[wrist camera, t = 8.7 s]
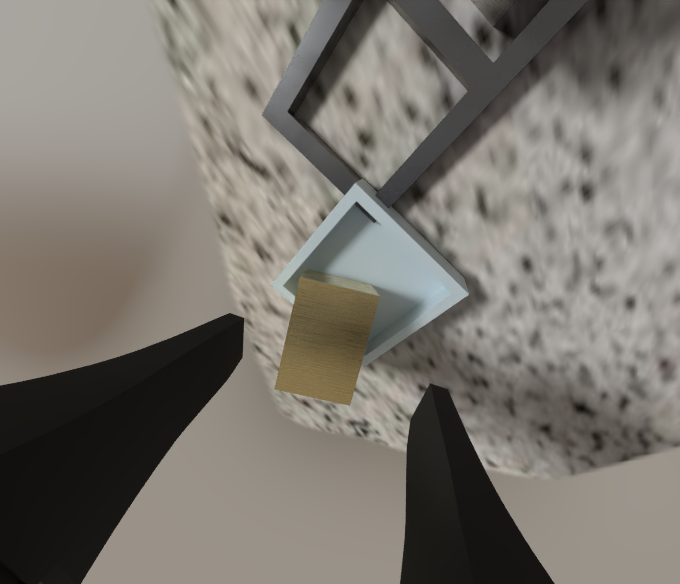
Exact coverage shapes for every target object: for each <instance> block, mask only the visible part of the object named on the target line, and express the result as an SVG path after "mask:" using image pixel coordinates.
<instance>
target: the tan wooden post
mask: <svg viewBox="0 0 680 584" xmlns="http://www.w3.org/2000/svg"><path fill="white" fill-rule="evenodd" d="M379 298H380V295H379V294H378V293H377V292H376V291H375V289H374V288H373V287H372V286H371V285H370V284H368V283H364V282H360V281H356V280H351V279H347V278H343V277H339V276H335V275H331V274H327V273H323V272H319V271H315V270H311V269H307V270H306V271H305V272H304V273H303V274H302V275H301V276H300V278H299V283H298V287H297V291H296V296H295V300H294V305H293V309H292V314H291V318H290V323H289V327H288V332H287V336H286V340H285V345H284V349H283V354H282V358H281V363H280V367H279V372H278V376H277V381H276V385H275V389H276V390H280V391H285V392H290V393H294V394H299V395H303V396H308V397H313V398H317V399H322V400H326V401H331V402H336V403H340V404H345V405H349V406H350V403H351V399H352V396H353V392H354V389H355V385H356V381H357V378H358V374H359V371H360V367H361V363H362V360H363V356H364V353H365V349H366V345H367V342H368V338H369V335H370V331H371V327H372V324H373V320H374V316H375V313H376V309H377V306H378V302H379Z"/></svg>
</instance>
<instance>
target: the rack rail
mask: <svg viewBox="0 0 680 584" xmlns="http://www.w3.org/2000/svg"><path fill="white" fill-rule="evenodd" d="M362 1H363V0H323V2H322V4H321V6H320V7H319V9H318V11H317V13H316V15H315V17H314V19H313V21H312V22H311V24H310V26H309V28H308V30H307V32H306V34H305V35H304V37H303V39H302V41H301V43H300V45H299V47H298V49H297V50H296V52H295V54H294V56H293V58H292V60H291V62H290V63H289V65H288V67H287V69H286V71H285V73H284V75H283V77H282V78H281V80H280V82H279V84H278V86H277V88H276V90H275V92H274V93H273V95H272V97H271V99H270V101H269V103H268V105H267V106H266V108H265V110H264V112H263V114H262V116H263V117H264V118H266V119H267V120H268V121H269V122H270V123H271V124H272V125H273V126H274V127H275V128H276V129H277V130H278V131H279V132H280V133H281V134H282V135H283V136H284V137H285V138H286V139H287V140H288V141H289V142H290V143H291V144H292V145H293V146H295V147H296V148H297V149H298V150H299V151H300V152H301V153H302V154H303V155H304V156H305V157H306V158H307V159H308V160H309V161H310V162H311V163H312V164H313V165H314V166H315V167H316V168H317V169H318V170H319V171H320V172H321V173H322V174H323V175H325V176H326V177H327V178H328V179H329V180H330V181H331V182H332V183H333V184H334V185H335V186H336V187H337V188H338V189H339V190H340V191H341V192H342V193H343V194H344V195H346V194H347V192H348V191H349V190H350V189H351V188H352V186H353V185H354V184H355V183H356V182H358V181H359V180H361V178H360V177H359V176H358V175H357V174H356V173H355V172H354V171H353V170H352V169H351V168H350V167H349V166H348V165H347V164H346V163H345V162H344V161H343V160H342V159H340V158H339V157H338V156H337V155H336V154H335V153H334V152H333V151H332V150H331V149H330V148H329V147H328V146H327V145H326V144H325V143H324V142H323V141H322V140H321V139H320V138H319V137H318V136H317V135H316V134H315V133H314V132H313V131H312V130H311V129H310V128H309V127H308V126H307V125H306V124H305V123H304V122H303V121H302V120H301V119H300V118H299V117H298V116H297V115H296V114H295V113H296V111H297V109H298V108H299V106H300V104H301V103H302V101H303V99H304V98H305V96H306V94H307V93H308V91H309V89H310V88H311V86H312V84H313V83H314V81H315V79H316V78H317V76H318V74H319V73H320V71H321V69H322V68H323V66H324V64H325V63H326V61H327V59H328V58H329V56H330V54H331V53H332V51H333V49H334V48H335V46H336V44H337V43H338V41H339V39H340V37H341V36H342V34H343V32H344V31H345V29H346V27H347V26H348V24H349V22H350V21H351V19H352V17H353V16H354V14H355V12H356V11H357V9H358V7H359V6H360V4H361V2H362ZM387 1H388V2H389V3H390V4H391V5H392V6H393V7H394V8H395V10H396V11H397V12H398V13H399V14H400V15H401V16H402V17H403V19H404V20H405V21H406V22H407V23H408V24H409V25H410V26H411V28H412V29H413V30H414V31H415V32H416V33H417V34H418V35H419V36H420V38H421V39H422V40H423V41H424V42H425V43H426V44H427V45H428V47H429V48H430V49H431V50H432V51H433V52H434V53H435V54H436V56H437V57H438V58H439V59H440V60H441V61H442V62H443V63H444V64H445V66H446V67H447V68H448V69H449V70H450V71H451V72H452V73H453V75H454V76H455V77H456V78H457V79H458V80H459V81H460V82H461V83H462V85H463V86H464V87H465V88H466V89H467V90H468V92H467V93H466V94H465V95H464V97H463V98H462V99H461V100H460V101H459V102H458V103H457V104H456V105H455V107H454V108H453V109H452V110H451V111H450V112H449V113H448V114H447V116H446V117H445V118H444V119H443V120H442V121H441V122H440V123H439V124H438V126H437V127H436V128H435V129H434V130H433V131H432V132H431V133H430V134H429V136H428V137H427V138H426V139H425V140H424V141H423V142H422V143H421V145H420V146H419V147H418V148H417V149H416V150H415V151H414V152H413V153H412V155H411V156H410V157H409V158H408V159H407V160H406V161H405V162H404V163H403V165H402V166H401V167H400V168H399V169H398V170H397V171H396V172H395V174H394V175H393V176H392V177H391V178H390V179H389V180H388V181H387V182H386V184H385V185H384V186H383V187H382V188H381V189H380V190H379V191H378V193H377V194H376V195H375V196H376V197H377V198H378V199H379V200H380V201H381V202H382V203H383V204H384V205H385V206H386V207H387V208H388V209H389V208H390V207H391V206H392V205H393V204H394V202H395V201H396V200H397V199H398V198H399V197H400V196H401V195H402V194H403V193H404V192H405V191H406V190H407V189H408V188H409V187H410V186H411V185H412V184H413V183H414V182H415V181H416V179H417V178H418V177H419V176H420V175H421V174H422V173H423V172H424V171H425V170H426V169H427V168H428V167H429V166H430V165H431V164H432V163H433V162H434V161H435V160H436V159H437V158H438V157H439V155H440V154H441V153H442V152H443V151H444V150H445V149H446V148H447V147H448V146H449V145H450V144H451V143H452V142H453V141H454V140H455V139H456V138H457V137H458V136H459V135H460V134H461V132H462V131H463V130H464V129H465V128H466V127H467V126H468V125H469V124H470V123H471V122H472V121H473V120H474V119H475V118H476V117H477V116H478V115H479V114H480V113H481V112H482V111H483V109H484V108H485V107H486V106H487V105H488V104H489V103H490V102H491V101H492V100H493V99H494V98H495V97H496V96H497V95H498V94H499V93H500V92H501V91H502V90H503V89H504V88H505V87H506V85H507V84H508V83H509V82H510V81H511V80H512V79H513V78H514V77H515V76H516V75H517V74H518V73H519V72H520V71H521V70H522V69H523V68H524V67H525V66H526V65H527V64H528V62H529V61H530V60H531V59H532V58H533V57H534V56H535V55H536V54H537V53H538V52H539V51H540V50H541V49H542V48H543V47H544V46H545V45H546V44H547V43H548V42H549V41H550V39H551V38H552V37H553V36H554V35H555V34H556V33H557V32H558V31H559V30H560V29H561V28H562V27H563V26H564V25H565V24H566V23H567V22H568V21H569V20H570V19H571V18H572V17H573V15H574V14H575V13H576V12H577V11H578V10H579V9H580V8H581V7H582V6H583V5H584V4H585V3H586V2H587V1H588V0H550V1H549V2H548V3H547V4H546V5H545V6H544V7H543V8H542V10H541V11H540V12H539V13H538V14H537V15H536V16H535V17H534V18H533V20H532V21H531V22H530V23H529V24H528V25H527V26H526V27H525V28H524V30H523V31H522V32H521V33H520V34H519V35H518V36H517V37H516V39H515V40H514V41H513V42H512V43H511V44H510V45H509V46H508V47H507V49H506V50H505V51H504V52H503V53H502V54H501V55H500V56H499V57H498V59H497V60H496V61H495V62H494V63H492V62H491V60H490V59H489V58H488V57H487V56H486V55H485V54H484V52H483V51H482V50H481V49H480V48H479V47H478V45H477V44H476V43H475V42H474V41H473V40H472V38H471V37H470V36H469V35H468V34H467V33H466V32H465V30H464V29H463V28H462V27H461V26H460V25H459V23H458V22H457V21H456V20H455V19H454V18H453V16H452V15H451V14H450V13H449V12H448V11H447V10H446V8H445V7H444V6H443V5H442V4H441V3H440V1H439V0H387ZM355 205H356V206H357V207H358V208H359V209H360V210H361V211H362V212H363V213H364V214H365V215H366V216H367V217H368V218H369V219H370V220H371V221H372V222H373V223H375V222H376V221H377V220H376V219H375V218H373V217H372V216H371V215H370V214H369V213H368V212H367V211H366V210H365V209H364V208H363V207H362V206H361V205H360V204H359V203H358V202H356V203H355Z"/></svg>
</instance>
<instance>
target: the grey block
mask: <svg viewBox="0 0 680 584" xmlns="http://www.w3.org/2000/svg"><path fill="white" fill-rule="evenodd" d="M471 1H472V2H473V3H474V5H475V6H476V7H477V8H478V9H479V11H480V12H481V13H482V14H483V15H484V16H485V18H486V19H487V20H488V21H489V22H490V24H491V25H492V26H494V25H495V24H496V23H497V22H498V21H499V19H500V18H501V17H502V16H503V15H504V13H505V12H506V11H507V10H508V9H509V8H510V6H511V5H512V4H513V3H514V2H515V0H471Z"/></svg>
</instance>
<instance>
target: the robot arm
mask: <svg viewBox="0 0 680 584" xmlns="http://www.w3.org/2000/svg"><path fill="white" fill-rule="evenodd" d="M243 333H244V318H242V317H239V316H237V315H234V314H231V313H229V314H226V315H224V316H221V317H219V318H217V319H214V320H212V321H210V322H207V323H205V324H203V325H201V326H198V327H196V328H194V329H191V330H189V331H187V332H184V333H182V334H179V335H177V336H174V337H172V338H169V339H167V340H164V341H161V342H159V343H156V344H154V345H151V346H148V347H146V348H143V349H141V350H138V351H135V352H132V353H129V354H126V355H123V356H120V357H116V358H113V359H110V360H106V361H103V362H100V363H96V364H93V365H89V366H85V367H81V368H77V369H73V370H69V371H65V372H61V373H57V374H53V375H49V376H45V377H41V378H36V379H31V380H26V381H22V382H17V383H12V384H6V385H1V386H0V584H81V583H82V581H83V579H84V578H85V576H86V574H87V573H88V571H89V569H90V568H91V566H92V565H93V563H94V561H95V560H96V558H97V557H98V555H99V553H100V552H101V550H102V549H103V547H104V545H105V544H106V542H107V540H108V539H109V537H110V536H111V534H112V533H113V531H114V529H115V528H116V526H117V525H118V523H119V522H120V520H121V519H122V517H123V515H124V514H125V513H126V511H127V509H128V508H129V507H130V505H131V504H132V502H133V501H134V499H135V497H136V496H137V495H138V493H139V492H140V490H141V489H142V487H143V486H144V485H145V483H146V482H147V480H148V479H149V477H150V476H151V474H152V473H153V471H154V470H155V468H156V467H157V466H158V464H159V463H160V462H161V460H162V459H163V457H164V456H165V455H166V453H167V452H168V451H169V449H170V448H171V446H172V445H173V444H174V442H175V441H176V439H177V438H178V437H179V436H180V435H181V433H182V432H183V431H184V430H185V428H186V427H187V426H188V425H189V424H190V423H191V421H192V420H193V419H194V418H195V417H196V416H197V414H198V413H199V412H200V411H201V410H202V409H203V407H204V406H205V405H206V404H207V403H208V402H209V400H211V398H212V397H213V396H214V395H215V394H216V393H217V391H218V390H219V389H220V388H221V387H222V386H223V384H224V383H225V382H226V381H227V380H228V378H229V377H230V375H231V374H232V372H233V371H234V369H235V368H236V366H237V365H238V363H239V362H240V360H241V359H242V356H243ZM400 584H554V582H553V581H552V579H551V578H550V576H549V575H548V573H547V572H546V570H545V569H544V567H543V566H542V565H541V563H540V562H539V560H538V559H537V557H536V556H535V554H534V553H533V551H532V550H531V548H530V546H529V545H528V543H527V542H526V540H525V539H524V537H523V536H522V534H521V532H520V531H519V529H518V527H517V526H516V524H515V522H514V521H513V519H512V517H511V516H510V514H509V513H508V511H507V509H506V508H505V506H504V504H503V502H502V501H501V499H500V497H499V495H498V493H497V492H496V490H495V488H494V486H493V484H492V482H491V481H490V479H489V477H488V475H487V473H486V471H485V469H484V467H483V465H482V463H481V461H480V459H479V457H478V455H477V453H476V451H475V449H474V447H473V445H472V443H471V441H470V439H469V436H468V434H467V432H466V430H465V428H464V425H463V423H462V421H461V419H460V416H459V414H458V412H457V410H456V407H455V405H454V403H453V400H452V398H451V396H450V393H449V391H448V389H445V388H442V387H439V386H436V385H433V384H431V383H430V385H429V387H428V388H427V390H426V392H425V394H424V396H423V398H422V399H421V401H420V403H419V405H418V407H417V409H416V411H415V412H414V414H413V416H412V418H411V421H410V428H409V435H408V443H407V468H406V525H405V541H404V551H403V561H402V571H401V580H400Z"/></svg>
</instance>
